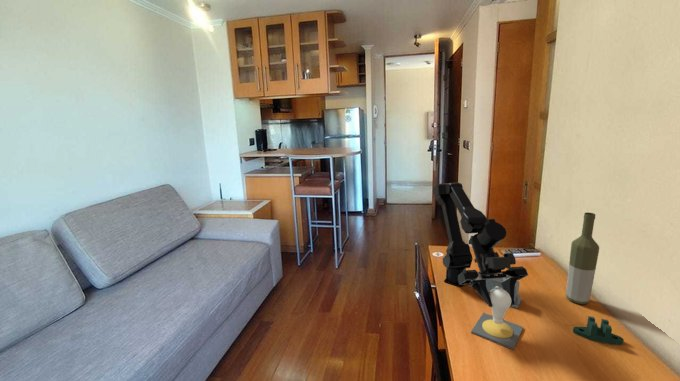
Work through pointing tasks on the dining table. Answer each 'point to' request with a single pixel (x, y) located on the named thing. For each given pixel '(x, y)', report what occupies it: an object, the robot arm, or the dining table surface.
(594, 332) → the mount
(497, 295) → the lightbulb
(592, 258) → the bottle
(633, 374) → the dining table surface
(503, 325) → the parts mat
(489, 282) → the lamp housing
